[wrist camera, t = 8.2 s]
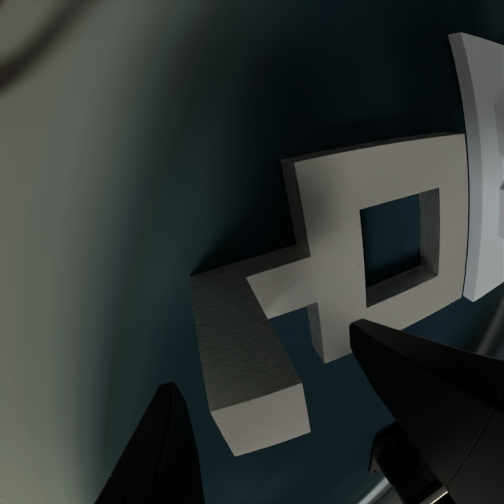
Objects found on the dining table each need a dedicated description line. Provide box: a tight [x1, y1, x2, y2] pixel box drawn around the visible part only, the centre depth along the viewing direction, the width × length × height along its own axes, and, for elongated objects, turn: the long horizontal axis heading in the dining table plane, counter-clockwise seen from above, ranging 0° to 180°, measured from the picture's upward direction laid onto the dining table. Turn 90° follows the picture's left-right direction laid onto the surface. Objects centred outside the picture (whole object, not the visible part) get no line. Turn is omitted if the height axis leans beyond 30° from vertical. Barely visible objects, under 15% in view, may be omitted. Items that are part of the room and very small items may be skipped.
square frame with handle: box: [189, 132, 468, 456], centre depth 10 cm, size 14×9×7 cm, turn 103°
